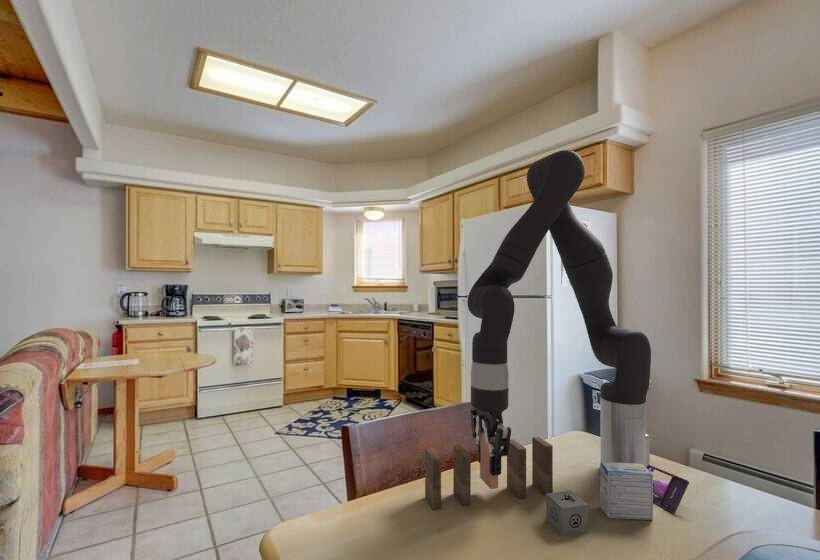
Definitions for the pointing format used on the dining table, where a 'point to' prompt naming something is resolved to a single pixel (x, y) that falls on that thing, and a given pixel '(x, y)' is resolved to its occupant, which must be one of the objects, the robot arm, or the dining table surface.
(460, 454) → the domino
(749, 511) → the dining table surface
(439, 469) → the domino
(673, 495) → the purple window box
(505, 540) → the dining table surface
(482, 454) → the domino
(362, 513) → the dining table surface
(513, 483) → the domino
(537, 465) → the domino
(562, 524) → the dice cube
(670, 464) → the dining table surface
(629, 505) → the medicine box
